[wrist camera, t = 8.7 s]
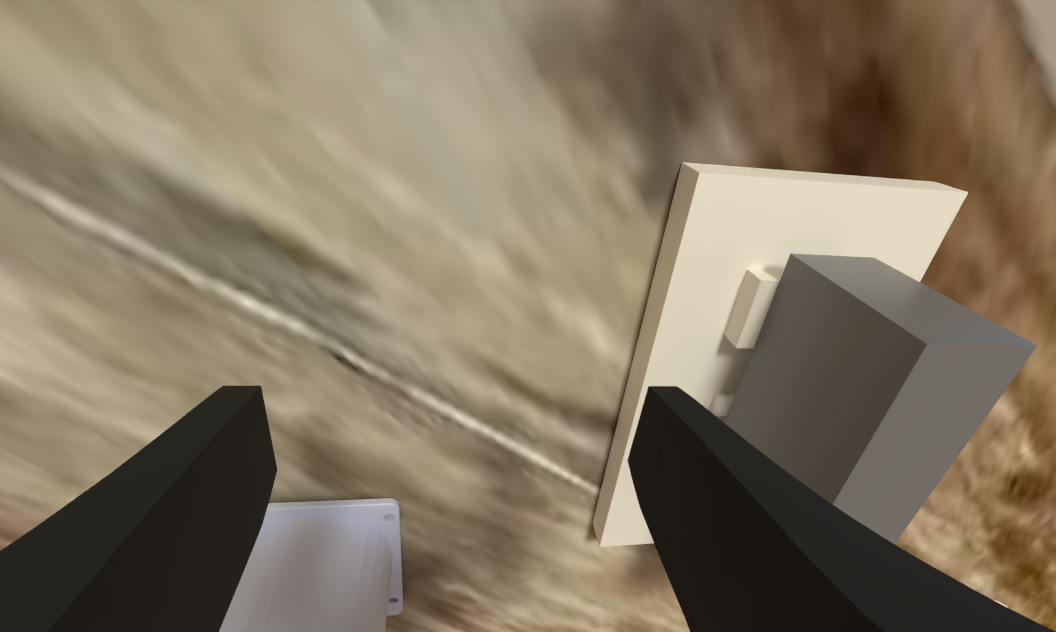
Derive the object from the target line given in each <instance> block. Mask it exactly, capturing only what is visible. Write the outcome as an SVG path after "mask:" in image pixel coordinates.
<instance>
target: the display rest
mask: <svg viewBox="0 0 1056 632" xmlns="http://www.w3.org/2000/svg"><path fill="white" fill-rule="evenodd" d="M967 194H968V192H965V191H962V190H959V189H956V188H953V187H950V186H946V185H943V184H940V183H937V182H930V181H917V180H904V179H891V178H878V177H866V176H853V175H840V174H827V173H814V172H801V171H788V170H775V169H762V168H749V167H736V166H723V165H710V164H697V163H684V162H682V164H681V168H680V172H679V176H678V180H677V184H676V188H675V192H674V196H673V201H672V205H671V209H670V213H669V217H668V221H667V225H666V229H665V233H664V237H663V241H662V245H661V249H660V253H659V257H658V261H657V265H656V269H655V273H654V277H653V281H652V285H651V289H650V293H649V297H648V301H647V305H646V309H645V313H644V317H643V321H642V326H641V330H640V334H639V338H638V342H637V346H636V350H635V354H634V358H633V362H632V366H631V370H630V374H629V378H628V382H627V386H626V390H625V394H624V398H623V402H622V406H621V410H620V414H619V418H618V422H617V426H616V430H615V434H614V438H613V442H612V446H611V450H610V455H609V459H608V463H607V467H606V471H605V475H604V479H603V483H602V487H601V491H600V495H599V499H598V503H597V507H596V511H595V515H594V519H593V526H594V530H595V533H596V537H597V540H598V543H599V547H603V546H620V545H636V544H652V543H654V541H653V539H652V537H651V534H650V532H649V529H648V527H647V524H646V522H645V519H644V517H643V514H642V512H641V509H640V506H639V502H638V499H637V495H636V492H635V488H634V485H633V481H632V477H631V473H630V469H629V465H628V461H627V460H628V457H629V453H630V450H631V446H632V443H633V439H634V436H635V432H636V428H637V425H638V421H639V418H640V414H641V411H642V407H643V404H644V400H645V397H646V393H647V390H648V386H677V387H679V388H680V389H682V390H683V391H685V392H686V393H687V394H689V395H690V396H691V397H693V398H694V399H695V400H696V401H698V402H699V403H700V404H701V405H703V406H704V407H705V408H706V409H708V410H709V411H710V412H711V413H713V414H714V415H715V416H716V417H718V418H719V419H720V420H721V421H723V422H724V423H725V420H726V418H727V415H728V412H729V410H730V407H731V405H732V402H733V400H734V397H735V394H736V392H737V389H738V387H739V384H740V382H741V379H742V376H743V374H744V371H745V369H746V366H747V364H748V361H749V359H750V356H751V353H752V351H753V348H754V346H755V343H756V341H757V338H758V335H759V333H760V330H761V328H762V325H763V323H764V320H765V317H766V315H767V312H768V310H769V307H770V305H771V302H772V299H773V297H774V294H775V292H776V289H777V287H778V284H779V281H780V279H781V276H782V274H783V271H784V269H785V266H786V263H787V261H788V258H789V256H790V254H811V255H831V256H852V257H873V258H876V259H878V260H880V261H882V262H883V263H885V264H887V265H889V266H891V267H893V268H894V269H896V270H898V271H900V272H902V273H904V274H905V275H907V276H909V277H911V278H913V279H915V280H917V281H918V282H920V281H921V279H922V277H923V275H924V273H925V271H926V270H927V268H928V266H929V264H930V262H931V260H932V258H933V257H934V255H935V253H936V251H937V249H938V247H939V246H940V244H941V242H942V240H943V238H944V236H945V234H946V233H947V231H948V229H949V227H950V225H951V223H952V221H953V220H954V218H955V216H956V214H957V212H958V210H959V208H960V207H961V205H962V203H963V201H964V199H965V197H966V195H967Z"/></svg>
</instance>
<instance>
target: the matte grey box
mask: <svg viewBox="0 0 1056 632" xmlns="http://www.w3.org/2000/svg"><path fill="white" fill-rule="evenodd" d="M1036 347H1037V346H1036V345H1034V344H1033V343H1031V342H1029V341H1027V340H1025V339H1023V338H1022V337H1020V336H1018V335H1016V334H1014V333H1012V332H1011V331H1009V330H1007V329H1005V328H1003V327H1001V326H999V325H998V324H996V323H994V322H992V321H990V320H988V319H987V318H985V317H983V316H981V315H979V314H977V313H976V312H974V311H972V310H970V309H968V308H966V307H964V306H963V305H961V304H959V303H957V302H955V301H953V300H952V299H950V298H948V297H946V296H944V295H942V294H940V293H939V292H937V291H935V290H933V289H931V288H929V287H928V286H926V285H924V284H922V283H920V282H918V281H917V280H915V279H913V278H911V277H909V276H907V275H905V274H904V273H902V272H900V271H898V270H896V269H894V268H893V267H891V266H889V265H887V264H885V263H883V262H882V261H880V260H878V259H876V258H873V257H852V256H831V255H811V254H790V256H789V258H788V261H787V263H786V266H785V269H784V271H783V274H782V276H781V279H780V281H779V284H778V287H777V289H776V292H775V294H774V297H773V299H772V302H771V305H770V307H769V310H768V312H767V315H766V317H765V320H764V323H763V325H762V328H761V330H760V333H759V335H758V338H757V341H756V343H755V346H754V348H753V351H752V353H751V356H750V359H749V361H748V364H747V366H746V369H745V371H744V374H743V376H742V379H741V382H740V384H739V387H738V389H737V392H736V394H735V397H734V400H733V402H732V405H731V407H730V410H729V412H728V415H727V418H726V420H725V424H726V425H728V426H729V427H730V428H731V429H733V430H734V431H735V432H736V433H738V434H739V435H740V436H741V437H743V438H744V439H745V440H746V441H748V442H749V443H750V444H751V445H753V446H754V447H755V448H757V449H758V450H759V451H760V452H762V453H763V454H764V455H765V456H767V457H768V458H769V459H771V460H772V461H773V462H775V463H776V464H777V465H779V466H780V467H781V468H783V469H784V470H785V471H787V472H788V473H789V474H791V475H792V476H793V477H795V478H796V479H797V480H799V481H800V482H802V483H803V484H804V485H806V486H807V487H809V488H810V489H811V490H813V491H814V492H816V493H817V494H818V495H820V496H821V497H823V498H824V499H825V500H827V501H828V502H830V503H831V504H833V505H834V506H835V507H837V508H838V509H840V510H841V511H843V512H844V513H846V514H847V515H849V516H850V517H852V518H853V519H855V520H857V521H858V522H860V523H861V524H863V525H865V526H866V527H868V528H869V529H871V530H872V531H874V532H876V533H877V534H879V535H880V536H882V537H883V538H885V539H887V540H888V541H890V542H891V543H893V544H895V543H896V541H897V540H898V538H899V537H900V536H901V534H902V533H903V531H904V530H905V529H906V527H907V526H908V524H909V523H910V522H911V520H912V519H913V518H914V516H915V515H916V513H917V512H918V511H919V509H920V508H921V506H922V505H923V504H924V502H925V501H926V500H927V498H928V497H929V495H930V494H931V493H932V491H933V490H934V488H935V487H936V486H937V484H938V483H939V481H940V480H941V479H942V477H943V476H944V475H945V473H946V472H947V470H948V469H949V468H950V466H951V465H952V463H953V462H954V461H955V459H956V458H957V456H958V455H959V454H960V452H961V451H962V450H963V448H964V447H965V445H966V444H967V443H968V441H969V440H970V438H971V437H972V436H973V434H974V433H975V432H976V430H977V429H978V427H979V426H980V425H981V423H982V422H983V420H984V419H985V418H986V416H987V415H988V413H989V412H990V411H991V409H992V408H993V407H994V405H995V404H996V402H997V401H998V400H999V398H1000V397H1001V395H1002V394H1003V393H1004V391H1005V390H1006V388H1007V387H1008V386H1009V384H1010V383H1011V382H1012V380H1013V379H1014V377H1015V376H1016V375H1017V373H1018V372H1019V370H1020V369H1021V368H1022V366H1023V365H1024V364H1025V362H1026V361H1027V359H1028V358H1029V357H1030V355H1031V354H1032V352H1033V351H1034V350H1035V348H1036Z"/></svg>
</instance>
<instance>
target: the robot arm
mask: <svg viewBox="0 0 1056 632" xmlns="http://www.w3.org/2000/svg"><path fill="white" fill-rule="evenodd" d="M627 461H628V465H629V469H630V473H631V477H632V481H633V485H634V488H635V492H636V495H637V499H638V502H639V506H640V509H641V512H642V514H643V517H644V519H645V522H646V524H647V527H648V529H649V532H650V534H651V537H652V539H653V541H654V544H655V546H656V549H657V551H658V554H659V556H660V558H661V561H662V563H663V566H664V568H665V571H666V573H667V575H668V578H669V580H670V583H671V585H672V587H673V590H674V592H675V595H676V597H677V599H678V602H679V604H680V607H681V609H682V612H683V614H684V616H685V619H686V621H687V624H688V627H689V629H690V632H1055V631H1053V630H1051V629H1049V628H1047V627H1045V626H1043V625H1041V624H1039V623H1037V622H1035V621H1033V620H1031V619H1028V618H1026V617H1024V616H1022V615H1020V614H1019V613H1017V612H1015V611H1013V610H1011V609H1009V608H1007V607H1005V606H1003V605H1001V604H999V603H997V602H996V601H994V600H992V599H990V598H988V597H986V596H984V595H982V594H980V593H979V592H977V591H975V590H973V589H971V588H969V587H968V586H966V585H964V584H962V583H961V582H959V581H957V580H955V579H953V578H952V577H950V576H948V575H946V574H944V573H943V572H941V571H939V570H937V569H936V568H934V567H932V566H930V565H928V564H927V563H925V562H923V561H921V560H920V559H918V558H916V557H915V556H913V555H911V554H910V553H908V552H906V551H905V550H903V549H901V548H899V547H898V546H896V545H895V544H893V543H891V542H890V541H888V540H887V539H885V538H883V537H882V536H880V535H879V534H877V533H876V532H874V531H872V530H871V529H869V528H868V527H866V526H865V525H863V524H861V523H860V522H858V521H857V520H855V519H853V518H852V517H850V516H849V515H847V514H846V513H844V512H843V511H841V510H840V509H838V508H837V507H835V506H834V505H833V504H831V503H830V502H828V501H827V500H825V499H824V498H823V497H821V496H820V495H818V494H817V493H816V492H814V491H813V490H811V489H810V488H809V487H807V486H806V485H804V484H803V483H802V482H800V481H799V480H797V479H796V478H795V477H793V476H792V475H791V474H789V473H788V472H787V471H785V470H784V469H783V468H781V467H780V466H779V465H777V464H776V463H775V462H773V461H772V460H771V459H769V458H768V457H767V456H765V455H764V454H763V453H762V452H760V451H759V450H758V449H757V448H755V447H754V446H753V445H751V444H750V443H749V442H748V441H746V440H745V439H744V438H743V437H741V436H740V435H739V434H738V433H736V432H735V431H734V430H733V429H731V428H730V427H729V426H728V425H726V424H725V423H724V422H723V421H721V420H720V419H719V418H718V417H716V416H715V415H714V414H713V413H711V412H710V411H709V410H708V409H706V408H705V407H704V406H703V405H701V404H700V403H699V402H698V401H696V400H695V399H694V398H693V397H691V396H690V395H689V394H687V393H686V392H685V391H683V390H682V389H680V388H679V387H677V386H648V390H647V393H646V397H645V400H644V404H643V407H642V411H641V414H640V418H639V421H638V425H637V428H636V432H635V436H634V439H633V443H632V446H631V450H630V453H629V457H628V460H627ZM276 472H277V467H276V461H275V456H274V451H273V446H272V441H271V436H270V430H269V425H268V420H267V415H266V410H265V405H264V399H263V394H262V389H261V386H222V387H221V388H220V389H218V390H217V391H216V392H214V393H213V394H212V395H210V396H209V397H208V398H206V399H205V400H204V401H203V402H201V403H200V404H199V405H197V406H196V407H195V408H194V409H192V410H191V411H190V412H189V413H187V414H186V415H185V416H184V417H182V418H181V419H180V420H179V421H177V422H176V423H175V424H174V425H172V426H171V427H170V428H169V429H167V430H166V431H165V432H163V433H162V434H161V435H160V436H158V437H157V438H156V439H155V440H153V441H152V442H151V443H149V444H148V445H147V446H145V447H144V448H143V449H142V450H140V451H139V452H138V453H136V454H135V455H134V456H133V457H131V458H130V459H129V460H127V461H126V462H125V463H123V464H122V465H121V466H120V467H118V468H117V469H116V470H114V471H113V472H112V473H110V474H109V475H108V476H106V477H105V478H104V479H102V480H101V481H99V482H98V483H97V484H95V485H94V486H92V487H91V488H90V489H88V490H87V491H85V492H84V493H83V494H81V495H80V496H78V497H77V498H76V499H74V500H73V501H71V502H70V503H69V504H67V505H66V506H64V507H63V508H62V509H60V510H59V511H57V512H56V513H55V514H53V515H52V516H51V517H49V518H48V519H46V520H45V521H44V522H42V523H41V524H39V525H38V526H37V527H35V528H34V529H32V530H31V531H29V532H28V533H26V534H25V535H23V536H22V537H20V538H19V539H17V540H16V541H15V542H13V543H12V544H10V545H8V546H7V547H5V548H4V549H2V550H1V551H0V632H385V628H386V618H387V616H391V615H397V614H400V613H401V612H402V610H403V584H402V556H401V529H400V504H399V502H398V501H397V500H395V499H393V498H380V499H356V500H332V501H307V502H283V503H269V500H270V496H271V492H272V488H273V484H274V480H275V476H276ZM388 514H391V515H388Z"/></svg>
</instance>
